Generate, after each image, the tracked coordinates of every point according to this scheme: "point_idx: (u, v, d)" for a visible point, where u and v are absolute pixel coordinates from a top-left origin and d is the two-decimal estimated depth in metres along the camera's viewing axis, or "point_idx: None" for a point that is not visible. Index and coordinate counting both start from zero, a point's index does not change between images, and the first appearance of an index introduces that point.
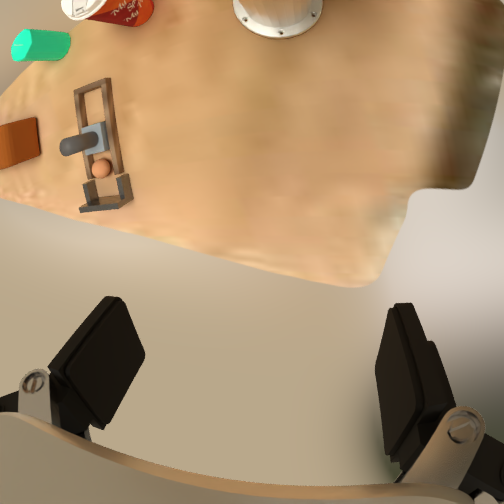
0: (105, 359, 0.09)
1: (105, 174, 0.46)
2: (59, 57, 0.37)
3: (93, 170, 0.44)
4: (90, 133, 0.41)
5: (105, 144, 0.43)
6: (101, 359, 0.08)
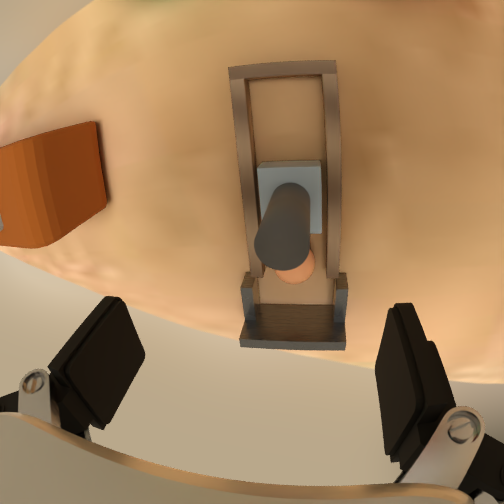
0: (105, 359, 0.09)
1: (308, 277, 0.24)
2: None
3: None
4: (301, 192, 0.19)
5: (321, 217, 0.22)
6: (101, 359, 0.08)
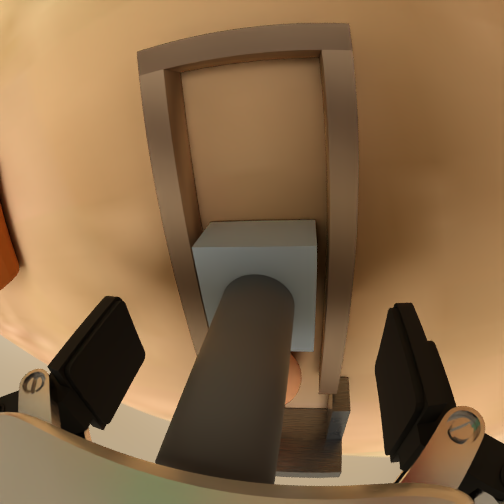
0: (105, 359, 0.09)
1: None
2: None
3: None
4: (275, 304, 0.10)
5: None
6: (101, 359, 0.08)
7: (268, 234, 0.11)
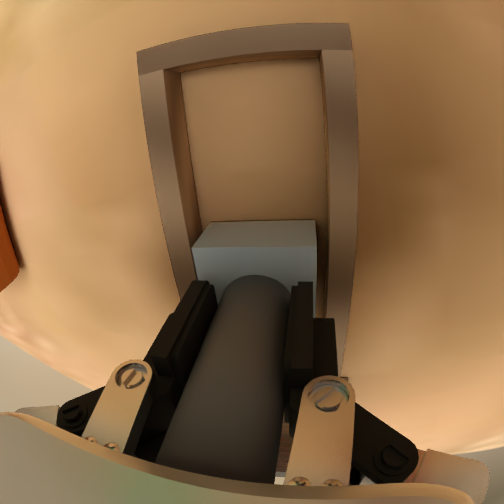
0: (201, 344, 0.09)
1: None
2: None
3: None
4: (275, 305, 0.10)
5: None
6: (199, 344, 0.09)
7: (268, 234, 0.11)
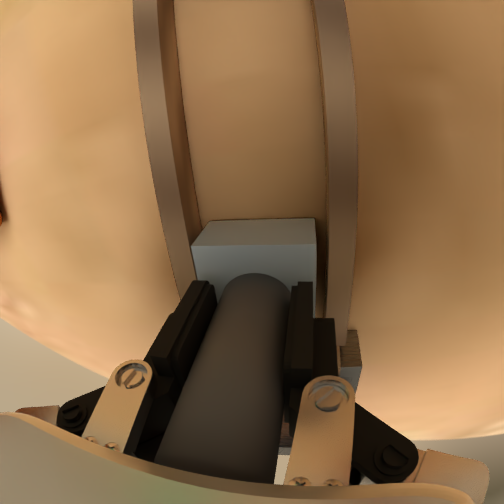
0: None
1: None
2: None
3: None
4: (275, 303, 0.10)
5: None
6: (199, 344, 0.09)
7: (267, 233, 0.11)
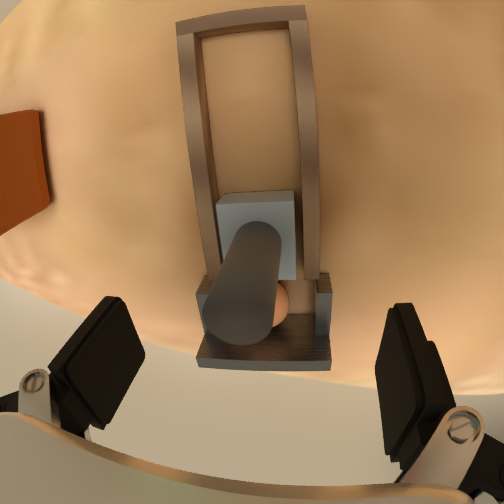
0: (105, 359, 0.09)
1: None
2: None
3: None
4: (269, 235, 0.16)
5: None
6: (101, 359, 0.08)
7: (263, 197, 0.17)
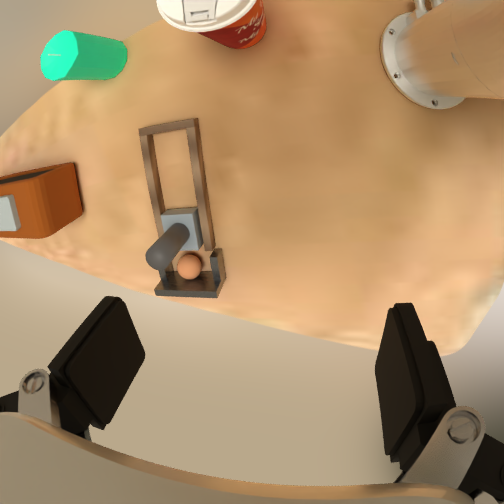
0: (105, 359, 0.09)
1: None
2: (111, 76, 0.31)
3: None
4: (180, 229, 0.36)
5: (198, 240, 0.39)
6: (101, 359, 0.08)
7: (182, 211, 0.38)
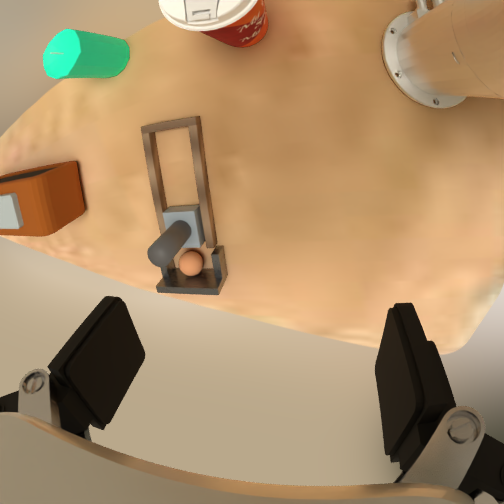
0: (105, 359, 0.09)
1: None
2: (114, 74, 0.31)
3: None
4: (182, 226, 0.36)
5: (200, 238, 0.39)
6: (101, 359, 0.08)
7: (183, 209, 0.38)
